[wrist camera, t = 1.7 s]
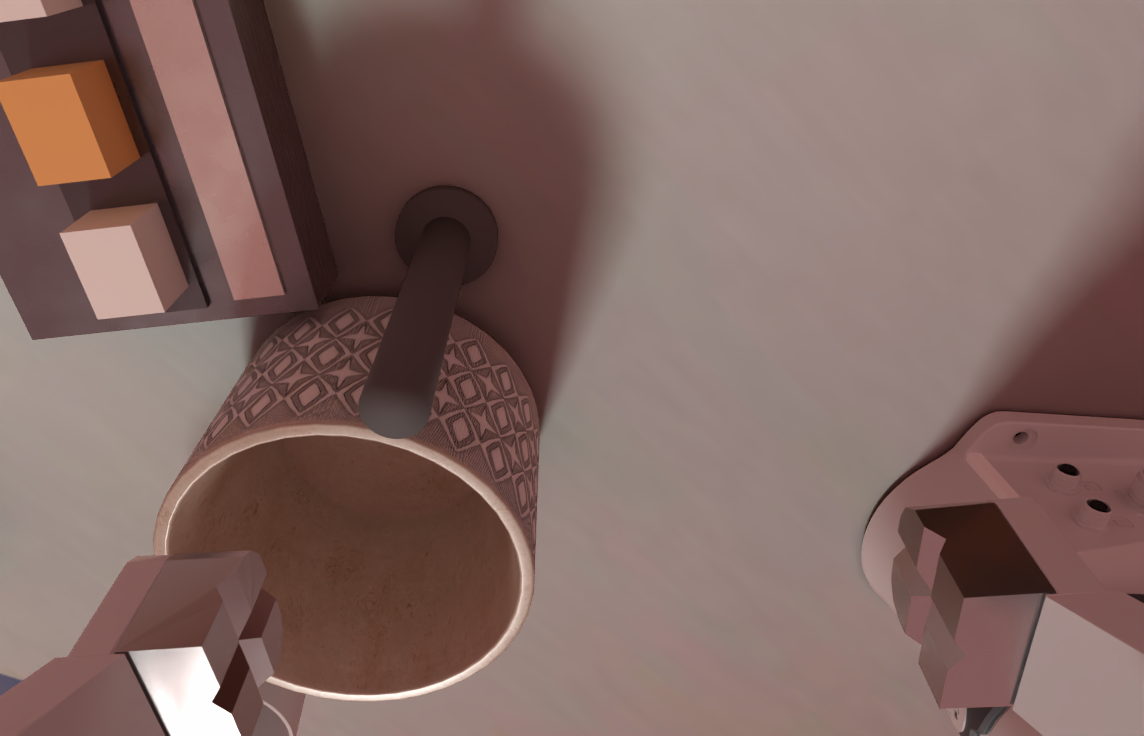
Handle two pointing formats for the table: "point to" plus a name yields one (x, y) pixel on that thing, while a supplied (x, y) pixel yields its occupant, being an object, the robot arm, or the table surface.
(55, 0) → the light pink block
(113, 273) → the pale pink brick
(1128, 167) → the table surface
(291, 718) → the cup
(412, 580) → the planter
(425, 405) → the post
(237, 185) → the dark grey slotted tray
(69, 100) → the orange block
